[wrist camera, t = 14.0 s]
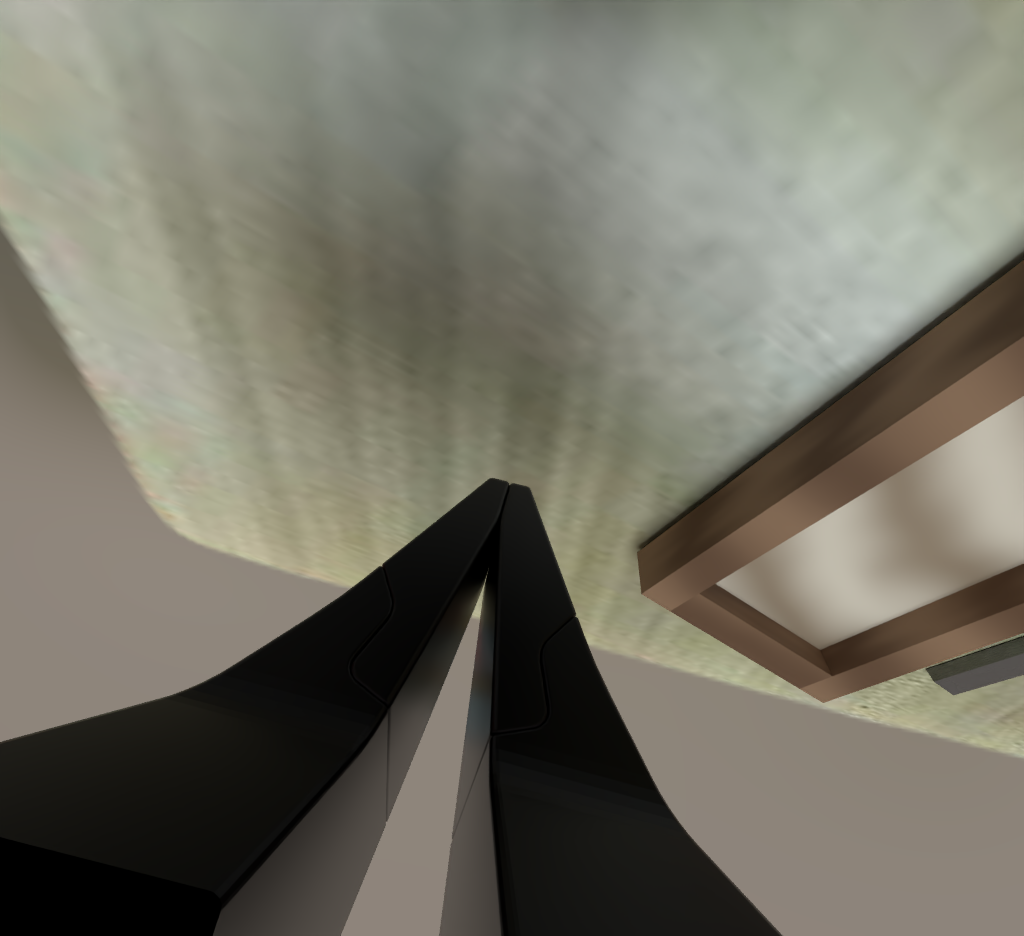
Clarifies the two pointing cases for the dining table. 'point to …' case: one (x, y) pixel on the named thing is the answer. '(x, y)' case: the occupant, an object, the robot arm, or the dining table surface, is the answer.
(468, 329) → the dining table surface
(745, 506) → the picture frame
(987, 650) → the strip
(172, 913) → the robot arm
